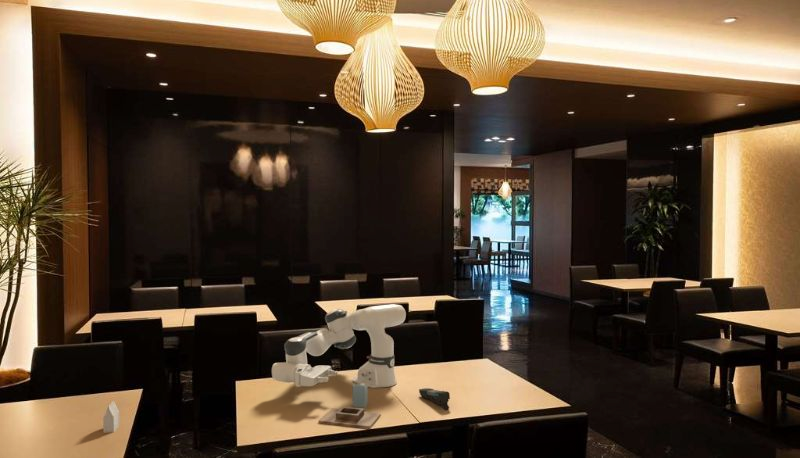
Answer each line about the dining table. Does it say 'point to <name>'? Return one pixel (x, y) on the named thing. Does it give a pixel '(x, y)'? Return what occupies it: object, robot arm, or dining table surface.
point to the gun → (436, 396)
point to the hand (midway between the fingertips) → (332, 376)
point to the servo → (360, 395)
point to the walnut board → (350, 417)
